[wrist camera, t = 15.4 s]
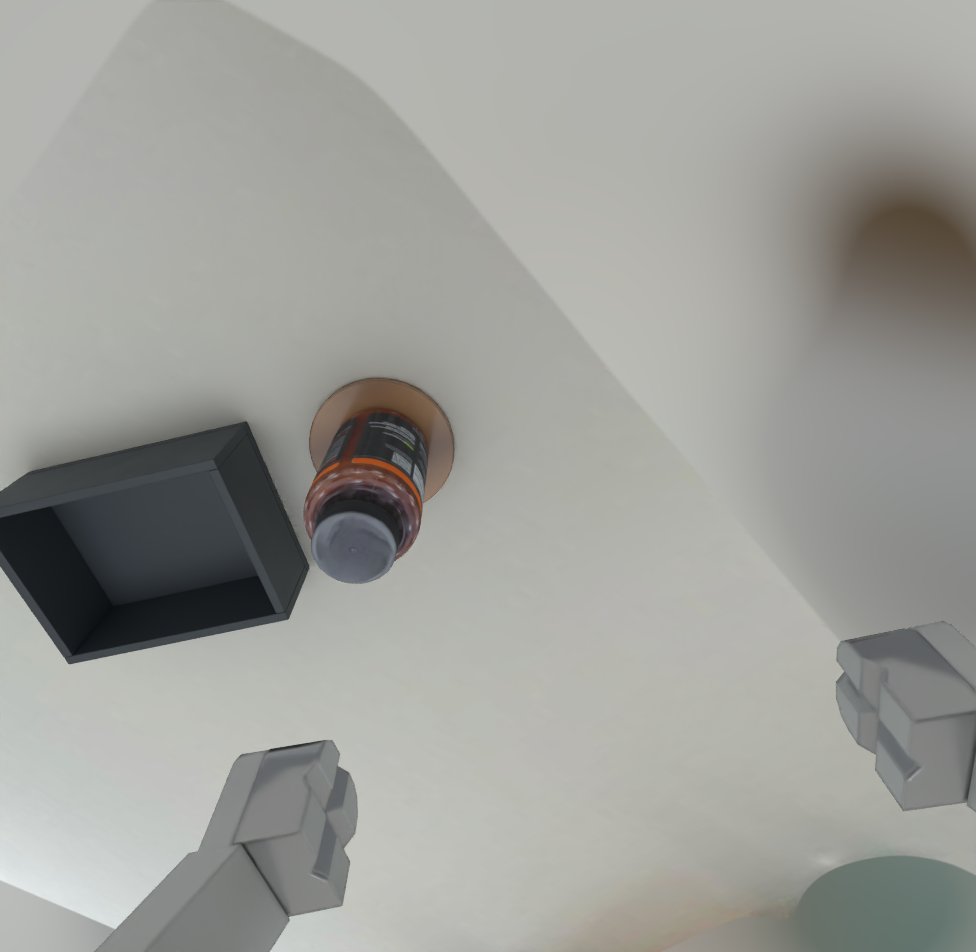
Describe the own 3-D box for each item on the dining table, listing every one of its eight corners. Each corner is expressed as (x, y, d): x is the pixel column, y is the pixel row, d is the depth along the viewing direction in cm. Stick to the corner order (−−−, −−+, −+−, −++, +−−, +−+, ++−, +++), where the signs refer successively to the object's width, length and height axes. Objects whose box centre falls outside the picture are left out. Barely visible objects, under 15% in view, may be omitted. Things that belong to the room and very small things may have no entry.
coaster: (290, 396, 38) (287, 399, 37) (433, 363, 37) (432, 365, 37) (338, 521, 42) (336, 525, 41) (469, 492, 41) (468, 497, 40)
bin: (28, 471, 40) (-36, 515, 34) (246, 421, 38) (213, 459, 33) (114, 608, 44) (68, 665, 39) (309, 567, 43) (289, 619, 38)
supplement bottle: (329, 484, 40) (281, 591, 30) (339, 397, 37) (290, 482, 27) (421, 499, 40) (406, 610, 30) (437, 415, 38) (425, 505, 28)
